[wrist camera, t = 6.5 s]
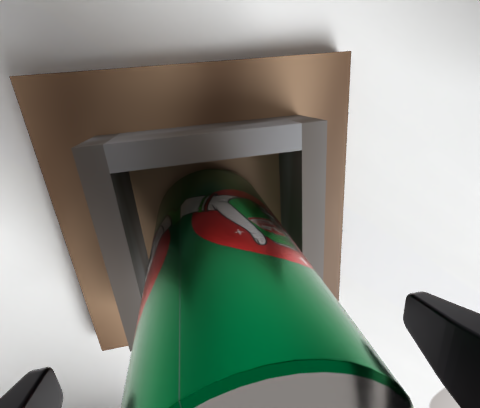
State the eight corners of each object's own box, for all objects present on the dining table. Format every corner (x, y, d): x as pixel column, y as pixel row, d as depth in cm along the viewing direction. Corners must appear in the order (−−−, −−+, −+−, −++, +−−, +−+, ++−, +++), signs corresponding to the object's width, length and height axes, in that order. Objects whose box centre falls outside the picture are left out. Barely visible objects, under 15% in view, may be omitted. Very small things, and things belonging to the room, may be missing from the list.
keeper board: (340, 53, 14) (395, 40, 10) (330, 293, 19) (366, 340, 16) (22, 77, 12) (-47, 71, 9) (106, 337, 17) (85, 403, 14)
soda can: (197, 276, 16) (235, 702, 5) (135, 204, 14) (-40, 647, 3) (277, 225, 16) (507, 547, 5) (226, 144, 14) (416, 374, 3)
